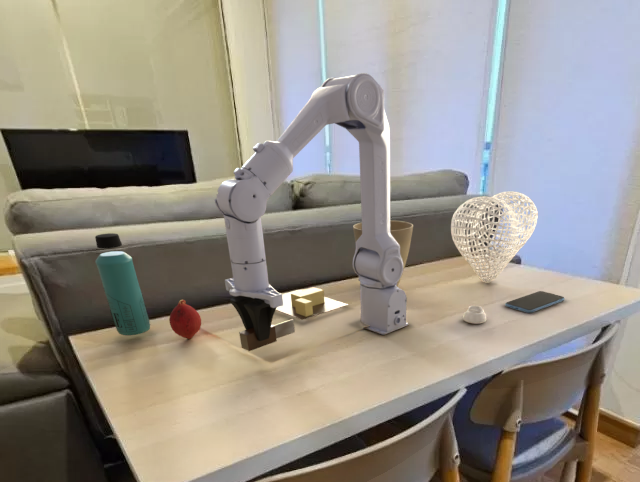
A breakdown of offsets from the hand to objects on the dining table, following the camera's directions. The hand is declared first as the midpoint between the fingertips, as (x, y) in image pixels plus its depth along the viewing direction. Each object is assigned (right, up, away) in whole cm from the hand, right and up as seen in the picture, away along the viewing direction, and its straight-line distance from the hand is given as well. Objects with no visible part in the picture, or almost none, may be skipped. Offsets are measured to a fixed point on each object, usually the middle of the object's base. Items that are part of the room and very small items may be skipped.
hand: (258, 337), depth 83 cm
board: (+4, +11, +26) cm, 29 cm away
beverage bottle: (-28, +1, +11) cm, 30 cm away
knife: (+2, 0, +2) cm, 3 cm away
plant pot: (+24, +18, +39) cm, 49 cm away
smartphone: (+60, +12, +27) cm, 67 cm away
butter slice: (+6, +8, +19) cm, 22 cm away
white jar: (+43, +6, +18) cm, 47 cm away
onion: (-16, +1, +10) cm, 19 cm away
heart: (+52, +21, +43) cm, 71 cm away
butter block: (+6, +11, +25) cm, 28 cm away
